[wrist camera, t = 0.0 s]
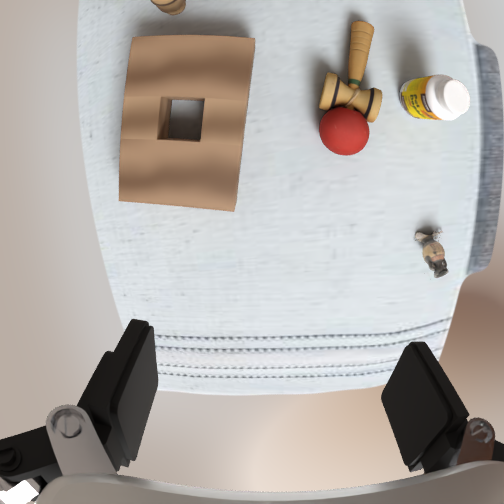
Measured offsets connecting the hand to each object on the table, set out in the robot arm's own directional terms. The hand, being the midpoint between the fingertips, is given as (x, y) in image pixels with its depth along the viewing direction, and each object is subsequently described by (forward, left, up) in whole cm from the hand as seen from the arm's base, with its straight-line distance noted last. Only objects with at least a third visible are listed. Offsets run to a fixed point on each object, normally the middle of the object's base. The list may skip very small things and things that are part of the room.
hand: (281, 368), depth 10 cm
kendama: (-15, +9, -32) cm, 36 cm away
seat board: (-8, -10, -31) cm, 34 cm away
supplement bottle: (-16, +19, -31) cm, 40 cm away
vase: (+5, +26, -32) cm, 41 cm away
